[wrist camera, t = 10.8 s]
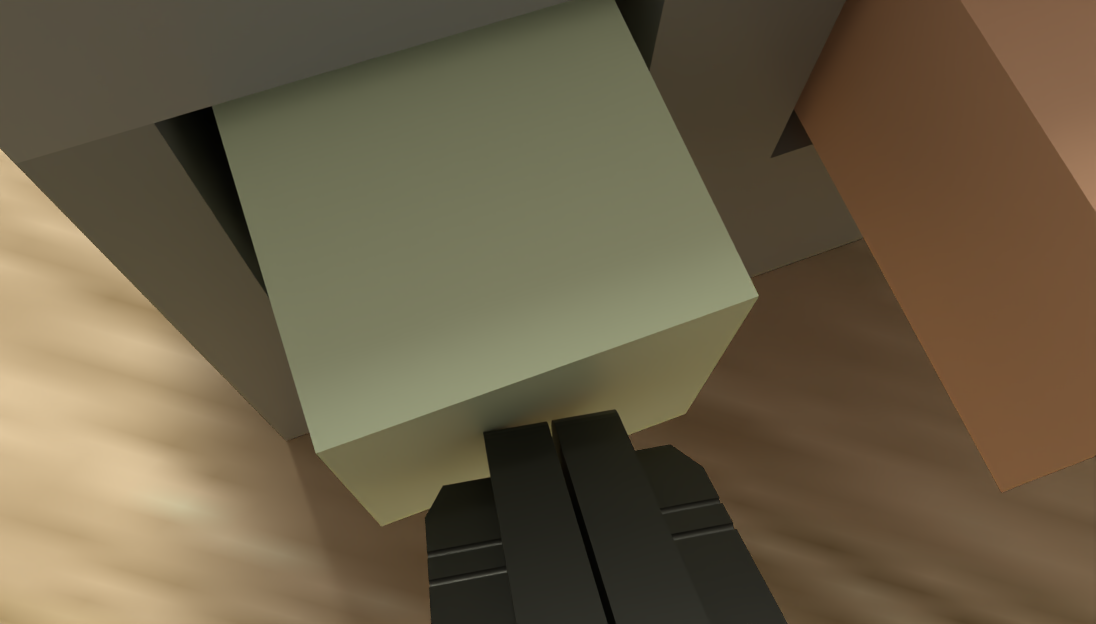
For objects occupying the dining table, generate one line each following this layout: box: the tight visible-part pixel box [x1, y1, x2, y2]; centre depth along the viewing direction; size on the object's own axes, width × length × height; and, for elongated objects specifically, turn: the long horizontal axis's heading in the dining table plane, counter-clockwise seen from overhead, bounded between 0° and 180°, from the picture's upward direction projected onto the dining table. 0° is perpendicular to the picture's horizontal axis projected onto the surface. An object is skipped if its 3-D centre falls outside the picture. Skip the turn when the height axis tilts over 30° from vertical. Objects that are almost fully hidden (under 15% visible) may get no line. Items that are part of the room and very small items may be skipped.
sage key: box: [212, 0, 759, 527], centre depth 12 cm, size 4×8×4 cm, turn 21°
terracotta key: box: [794, 0, 1096, 493], centre depth 13 cm, size 4×8×4 cm, turn 21°
